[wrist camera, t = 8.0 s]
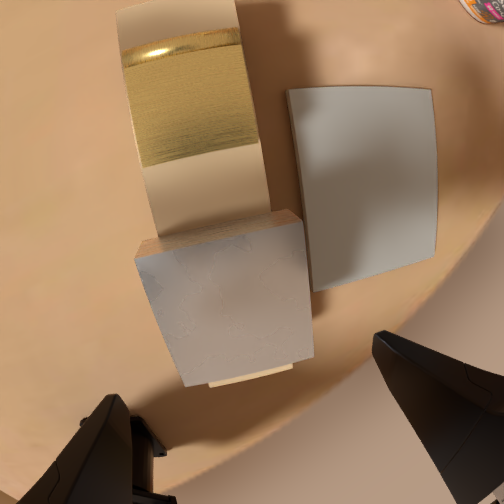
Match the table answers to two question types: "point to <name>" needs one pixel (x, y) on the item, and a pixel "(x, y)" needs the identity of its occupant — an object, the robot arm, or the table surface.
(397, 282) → the table surface
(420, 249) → the mat
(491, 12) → the pill bottle
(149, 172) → the body
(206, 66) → the gold flat block
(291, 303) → the cap plate
